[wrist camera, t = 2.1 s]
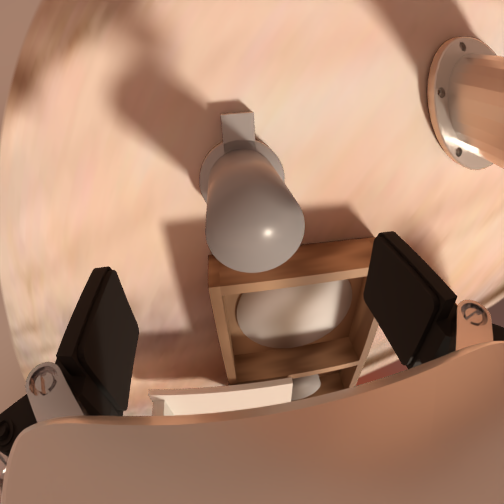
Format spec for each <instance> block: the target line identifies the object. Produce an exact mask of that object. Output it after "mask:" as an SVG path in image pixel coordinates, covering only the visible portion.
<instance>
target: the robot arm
mask: <svg viewBox="0 0 504 504" xmlns="http://www.w3.org/2000/svg"><path fill="white" fill-rule="evenodd" d="M427 95H428V108H429V113H430V118H431V123H432V126H433V129H434V132H435V135H436V137H437V139H438V141H439V143H440V145H441V147H442V148H443V150H444V151H445V152H446V154H447V155H448V156H449V157H450V158H451V159H452V160H453V161H454V162H456V163H458V164H460V165H461V166H463V167H466V168H468V169H471V170H481V169H485V168H487V167H489V166H491V165H492V164H493V163H494V164H496V165H498V166H500V167H501V168H503V169H504V57H502V56H497V55H496V54H495V52H494V51H493V50H492V49H491V48H490V47H489V46H488V45H486V44H485V43H483V42H482V41H480V40H478V39H475V38H473V37H454V38H452V39H449V40H447V41H446V42H445V43H444V44H443V45H441V46H440V48H439V49H438V51H437V52H436V54H435V56H434V58H433V61H432V64H431V66H430V72H429V77H428V91H427ZM363 297H364V301H365V303H366V305H367V306H368V308H369V309H370V311H371V313H372V314H373V316H374V318H375V319H376V321H377V322H378V324H379V326H380V327H381V329H382V331H383V332H384V334H385V336H386V337H387V339H388V341H389V342H390V344H391V346H392V348H393V349H394V351H395V353H396V354H397V356H398V358H399V360H400V361H401V363H402V364H403V365H406V366H407V368H408V370H405V371H402V372H399V373H396V374H394V375H391V376H388V377H384V378H381V379H378V380H375V381H372V382H368V383H365V384H362V385H358V386H355V387H351V388H347V389H344V390H340V391H336V392H332V393H328V394H324V395H320V396H315V397H311V398H306V399H302V400H297V401H292V402H287V403H281V404H276V405H270V406H264V407H257V408H250V409H243V410H235V411H226V412H217V413H206V414H193V415H174V416H123V411H126V410H127V407H128V399H129V391H130V384H131V377H132V370H133V364H134V358H135V352H136V346H137V340H138V335H139V328H138V324H137V322H136V320H135V317H134V315H133V313H132V310H131V308H130V305H129V303H128V301H127V298H126V296H125V293H124V291H123V288H122V285H121V283H120V280H119V277H118V275H117V272H116V271H115V270H112V269H111V268H110V267H101V268H95V269H94V270H93V271H92V273H91V275H90V277H89V279H88V281H87V283H86V286H85V288H84V290H83V292H82V294H81V296H80V298H79V301H78V303H77V305H76V307H75V310H74V312H73V314H72V317H71V319H70V321H69V324H68V326H67V329H66V331H65V334H64V336H63V339H62V341H61V344H60V346H59V349H58V352H57V355H56V357H57V359H56V362H55V364H54V363H52V362H45V363H41V364H39V365H37V366H36V367H35V368H34V369H32V371H31V372H30V373H29V375H28V377H27V379H26V385H25V387H26V392H27V394H26V395H25V396H24V397H22V398H21V399H19V400H18V401H17V402H15V403H14V404H13V405H12V406H10V407H9V408H8V409H6V410H5V411H4V412H3V413H1V414H0V504H504V328H503V327H501V326H498V325H495V324H492V321H491V316H490V313H489V312H488V310H487V309H486V308H485V307H484V306H483V305H482V304H480V303H478V302H476V301H473V300H463V301H461V302H460V303H459V304H458V306H457V305H456V304H455V301H456V299H457V296H456V295H455V293H454V292H453V291H452V290H451V289H450V288H449V287H448V286H447V285H446V283H445V282H444V281H443V280H442V279H441V278H440V277H439V276H438V275H437V274H436V273H435V272H434V271H433V270H432V268H431V267H430V266H429V265H428V264H427V263H426V262H425V261H424V260H423V259H422V258H421V257H420V256H419V255H418V254H417V253H416V252H415V251H414V250H413V249H412V248H411V247H410V246H409V245H408V244H407V243H406V242H405V241H404V240H402V239H401V238H400V237H399V236H398V235H397V234H396V233H395V232H393V231H391V232H383V233H379V234H378V236H377V237H376V238H375V239H374V242H373V248H372V253H371V259H370V264H369V269H368V274H367V279H366V284H365V288H364V293H363Z"/></svg>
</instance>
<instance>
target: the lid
mask: <svg viewBox="0 0 504 504" xmlns="http://www.w3.org/2000/svg"><path fill="white" fill-rule="evenodd" d="M292 387H293V381H292V377H290V378H284V379H277V380H271V381H264V382H256V383H248V384H239V385H229V386H218V387H205V388H188V389H158V390H149V393H148V396H149V397H150V399H151V400H152V402H153V410H152V416H174V415H193V414H206V413H217V412H226V411H235V410H243V409H250V408H257V407H264V406H270V405H276V404H281V403H287V402H291V396H292Z"/></svg>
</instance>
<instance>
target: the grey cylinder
mask: <svg viewBox="0 0 504 504" xmlns="http://www.w3.org/2000/svg"><path fill="white" fill-rule="evenodd" d="M221 124H222V135H223V142H221V143H219V144H218V145H216V146H215V147H214V148H213V149H212V150H211V151H210V152H209V153H208V154H207V156H206V157H205V159H204V161H203V164H202V166H201V171H200V178H199V184H200V190H201V193H202V196H203V198H204V200H205V202H206V203H207V211H206V228H205V234H206V240H207V244H208V247H209V249H210V251H211V252H212V254H213V255H214V256H215V258H216V259H217V260H218V261H220V262H221V263H222V264H224V265H225V266H227V267H229V268H231V269H233V270H236V271H240V272H246V273H258V272H264V271H268V270H271V269H273V268H276V267H278V266H280V265H281V264H283V263H284V262H286V261H287V260H288V259H289V258H291V256H292V255H293V254H294V253H295V252H296V251H297V249H298V248H299V246H300V244H301V242H302V239H303V236H304V230H305V221H304V215H303V213H302V210H301V208H300V206H299V204H298V203H297V201H296V200H295V198H294V197H293V195H292V194H291V192H290V191H289V189H288V188H287V186H286V185H285V183H284V170H283V167H282V164H281V162H280V160H279V158H278V157H277V156H276V154H275V153H274V152H273V151H272V150H271V149H270V148H269V147H268V146H267V145H266V144H264V143H262V142H261V141H258V140H256V139H255V126H254V112H252V111H249V112H236V113H225V114H221Z"/></svg>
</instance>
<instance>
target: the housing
mask: <svg viewBox="0 0 504 504" xmlns="http://www.w3.org/2000/svg"><path fill="white" fill-rule="evenodd" d="M374 239H375V237H369V238H360V239H351V240H342V241H333V242H324V243H314V244H305V245H300V246H299V248H298V249H297V251H296V252H295V253H294V254H293V255H292V256H291V258H289V259H288V260H287V261H286V262H284V263H283V264H281V265H280V266H278V267H276V268H273V269H271V270H268V271H264V272H258V273H246V272H240V271H236V270H233V269H231V268H229V267H227V266H225V265H224V264H222V263H221V262H220V261H218V260H217V259H216V258H215V256H214V255H208V290H209V295H210V300H211V305H212V310H213V315H214V320H215V325H216V329H217V334H218V339H219V343H220V348H221V352H222V357H223V361H224V365H225V370H226V374H227V378H228V382H229V385H239V384H248V383H256V382H264V381H271V380H277V379H284V378H290V377H292V381H293V387H292V396H291V402H292V401H297V400H302V399H306V398H311V397H315V396H320V395H324V394H328V393H332V392H336V391H340V390H344V389H347V388H351V387H355V385H356V383H357V381H358V378H359V376H360V373H361V371H362V369H363V366H364V364H365V361H366V358H367V356H368V353H369V351H370V348H371V345H372V342H373V340H374V337H375V334H376V331H377V328H378V325H379V324H378V322H377V321H376V319H375V318H374V316H373V314H372V313H371V311H370V309H369V308H368V306H367V305H366V303H365V301H364V297H363V293H364V288H365V284H366V279H367V274H368V269H369V264H370V259H371V253H372V248H373V242H374Z"/></svg>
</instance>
